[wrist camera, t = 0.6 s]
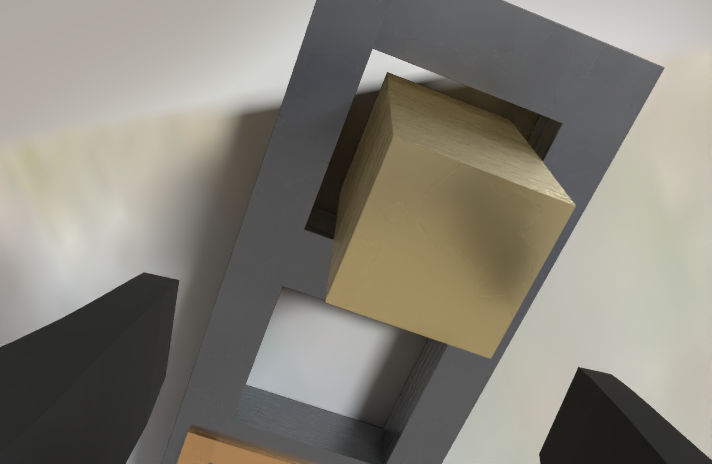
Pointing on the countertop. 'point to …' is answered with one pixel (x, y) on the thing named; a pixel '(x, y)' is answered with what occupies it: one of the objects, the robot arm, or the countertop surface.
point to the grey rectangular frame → (317, 226)
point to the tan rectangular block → (442, 219)
